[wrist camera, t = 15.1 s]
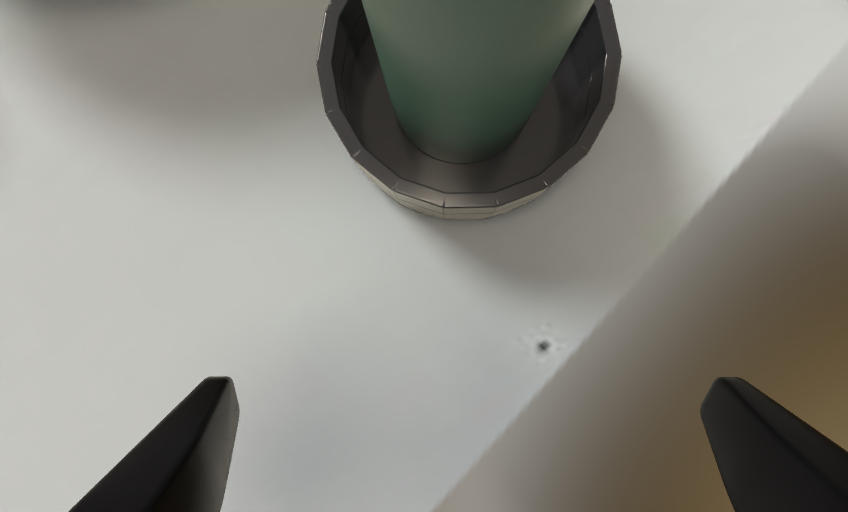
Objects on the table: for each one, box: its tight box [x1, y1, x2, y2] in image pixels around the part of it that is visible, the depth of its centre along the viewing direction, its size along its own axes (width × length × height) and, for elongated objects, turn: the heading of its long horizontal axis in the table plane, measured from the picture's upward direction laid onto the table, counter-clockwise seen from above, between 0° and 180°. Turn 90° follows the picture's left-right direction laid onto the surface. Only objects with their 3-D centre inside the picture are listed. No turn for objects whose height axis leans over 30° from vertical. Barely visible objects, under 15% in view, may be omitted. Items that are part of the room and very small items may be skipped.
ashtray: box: [317, 0, 622, 220], centre depth 18 cm, size 9×10×4 cm
